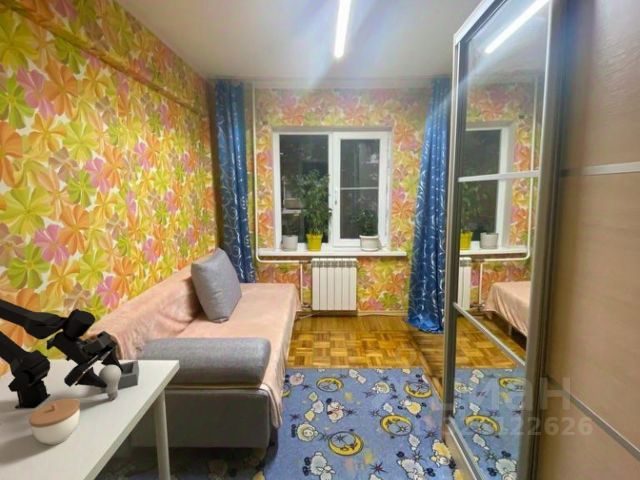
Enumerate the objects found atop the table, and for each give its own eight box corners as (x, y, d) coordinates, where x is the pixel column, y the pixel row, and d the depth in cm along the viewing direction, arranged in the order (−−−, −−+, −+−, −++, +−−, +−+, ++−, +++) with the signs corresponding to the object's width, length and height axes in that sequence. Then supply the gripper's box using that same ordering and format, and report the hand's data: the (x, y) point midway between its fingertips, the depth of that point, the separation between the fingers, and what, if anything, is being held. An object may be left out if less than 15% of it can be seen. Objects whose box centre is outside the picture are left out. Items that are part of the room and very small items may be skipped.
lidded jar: (40, 430, 98) (34, 399, 97) (86, 418, 103) (81, 388, 101) (28, 457, 89) (21, 422, 87) (79, 442, 93) (73, 409, 91)
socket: (101, 393, 115) (99, 382, 114) (105, 378, 124) (104, 367, 124) (137, 385, 119) (136, 373, 118) (139, 370, 128) (137, 360, 128)
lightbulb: (114, 405, 108) (109, 371, 106) (97, 404, 109) (91, 370, 108) (129, 393, 114) (124, 361, 112) (112, 392, 115) (107, 360, 114)
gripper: (67, 341, 99) (113, 377, 100) (107, 316, 117) (145, 346, 119) (44, 369, 100) (89, 404, 102) (87, 340, 119) (125, 370, 120)
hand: (114, 378), depth 111 cm, fingers open, 8 cm apart
